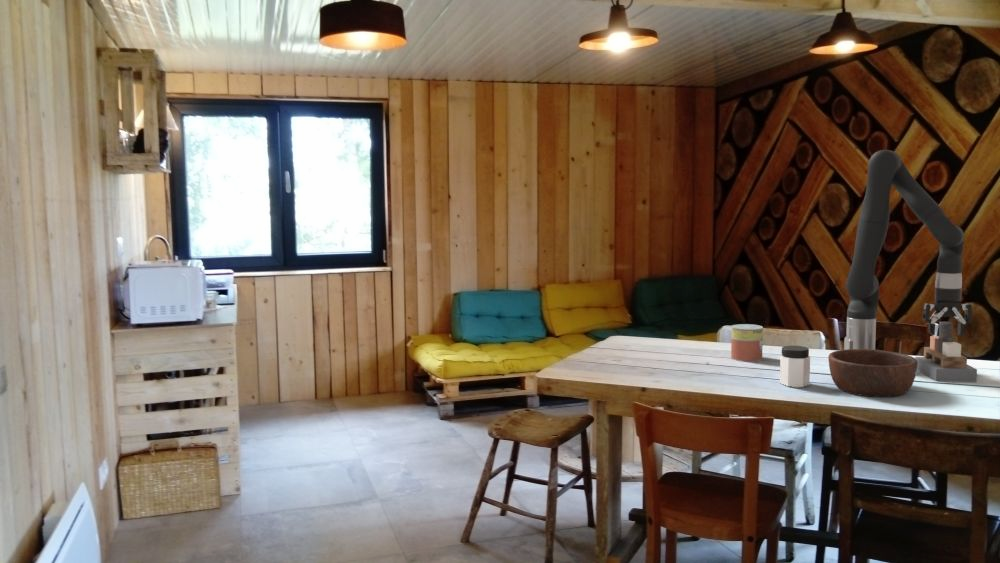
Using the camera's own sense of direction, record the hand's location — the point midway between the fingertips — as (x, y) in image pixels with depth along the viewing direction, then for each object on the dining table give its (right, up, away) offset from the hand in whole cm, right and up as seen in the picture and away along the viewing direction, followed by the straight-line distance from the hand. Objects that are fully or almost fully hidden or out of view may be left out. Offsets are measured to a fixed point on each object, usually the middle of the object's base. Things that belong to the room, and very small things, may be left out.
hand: (946, 334), depth 249 cm
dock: (0, -13, +2) cm, 14 cm away
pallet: (0, -9, +1) cm, 10 cm away
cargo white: (-1, -6, -4) cm, 8 cm away
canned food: (-55, -11, +33) cm, 65 cm away
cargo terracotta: (+1, -5, +6) cm, 8 cm away
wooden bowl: (-31, -16, -13) cm, 38 cm away
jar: (-53, -16, -6) cm, 55 cm away
